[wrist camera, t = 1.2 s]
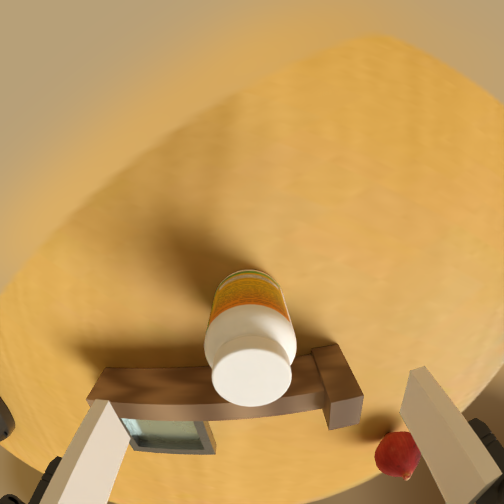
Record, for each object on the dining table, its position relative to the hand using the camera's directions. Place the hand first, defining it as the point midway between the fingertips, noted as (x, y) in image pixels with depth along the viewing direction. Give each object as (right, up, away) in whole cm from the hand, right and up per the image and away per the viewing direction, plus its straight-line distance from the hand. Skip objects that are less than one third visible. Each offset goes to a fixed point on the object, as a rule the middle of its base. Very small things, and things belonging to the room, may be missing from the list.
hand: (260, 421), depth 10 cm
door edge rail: (-4, -4, +14) cm, 15 cm away
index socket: (-10, -11, +16) cm, 21 cm away
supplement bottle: (-1, +3, +12) cm, 13 cm away
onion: (+17, -16, +18) cm, 29 cm away
